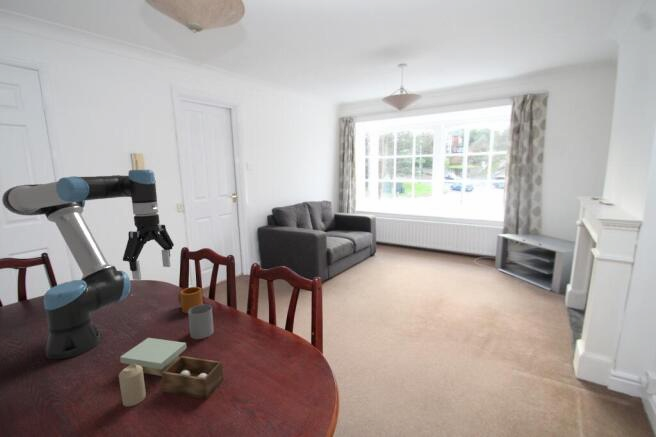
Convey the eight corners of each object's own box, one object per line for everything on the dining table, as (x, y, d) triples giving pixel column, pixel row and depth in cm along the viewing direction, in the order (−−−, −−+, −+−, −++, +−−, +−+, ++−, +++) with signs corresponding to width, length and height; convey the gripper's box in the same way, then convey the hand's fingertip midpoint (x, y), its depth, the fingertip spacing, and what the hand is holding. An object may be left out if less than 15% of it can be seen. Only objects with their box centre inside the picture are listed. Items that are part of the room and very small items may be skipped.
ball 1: (176, 383, 88) (175, 374, 88) (184, 376, 92) (183, 367, 91) (186, 385, 88) (185, 375, 87) (193, 378, 91) (192, 368, 90)
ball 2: (194, 387, 87) (193, 377, 87) (201, 379, 90) (200, 369, 90) (204, 388, 86) (203, 378, 86) (211, 381, 89) (210, 371, 89)
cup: (205, 340, 113) (203, 315, 111) (185, 338, 114) (183, 313, 113) (217, 328, 121) (215, 305, 119) (199, 326, 123) (197, 303, 121)
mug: (190, 301, 146) (189, 284, 145) (207, 307, 140) (206, 289, 139) (173, 308, 139) (172, 290, 137) (189, 315, 132) (188, 295, 131)
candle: (129, 392, 87) (125, 361, 85) (149, 391, 87) (145, 360, 85) (118, 407, 81) (113, 374, 80) (139, 406, 82) (135, 372, 80)
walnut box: (164, 391, 87) (162, 372, 86) (183, 373, 95) (181, 355, 94) (206, 399, 84) (205, 379, 83) (223, 379, 91) (221, 361, 90)
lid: (120, 362, 94) (120, 356, 93) (149, 343, 104) (148, 337, 104) (161, 369, 90) (160, 363, 90) (186, 348, 101) (186, 342, 101)
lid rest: (131, 370, 96) (130, 359, 95) (149, 357, 103) (148, 346, 102) (163, 376, 93) (162, 364, 93) (179, 362, 100) (178, 351, 99)
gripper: (123, 220, 92) (131, 286, 96) (180, 209, 116) (185, 262, 119) (103, 220, 94) (112, 284, 97) (164, 209, 118) (169, 261, 121)
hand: (152, 272), depth 108 cm, fingers open, 13 cm apart
